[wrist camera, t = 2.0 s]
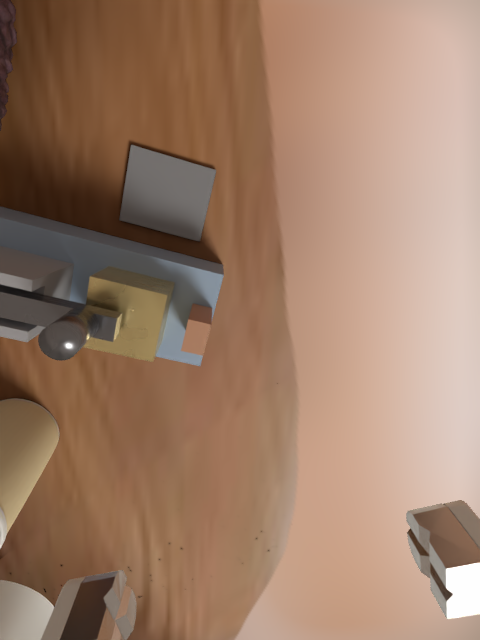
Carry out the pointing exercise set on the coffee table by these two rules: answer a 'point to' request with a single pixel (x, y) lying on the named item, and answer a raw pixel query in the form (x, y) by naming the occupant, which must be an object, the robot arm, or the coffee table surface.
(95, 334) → the ball-knob lever
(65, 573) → the coffee table surface
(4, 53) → the pine cone
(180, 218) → the mat
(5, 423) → the coffee cup
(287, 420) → the coffee table surface
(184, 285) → the plane body
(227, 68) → the coffee table surface
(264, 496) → the coffee table surface
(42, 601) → the robot arm
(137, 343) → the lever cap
